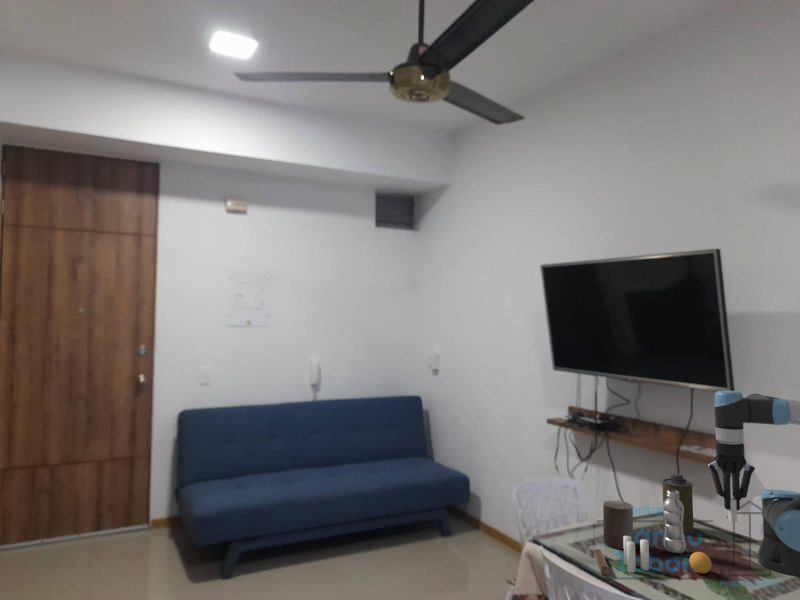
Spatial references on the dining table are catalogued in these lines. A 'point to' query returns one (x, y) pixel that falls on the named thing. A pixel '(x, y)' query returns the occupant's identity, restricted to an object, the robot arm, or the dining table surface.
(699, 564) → the ball
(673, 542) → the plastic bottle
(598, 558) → the brown wooden stick
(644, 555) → the front pin
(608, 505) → the pillar candle
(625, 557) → the pin
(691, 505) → the canister
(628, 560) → the pin
